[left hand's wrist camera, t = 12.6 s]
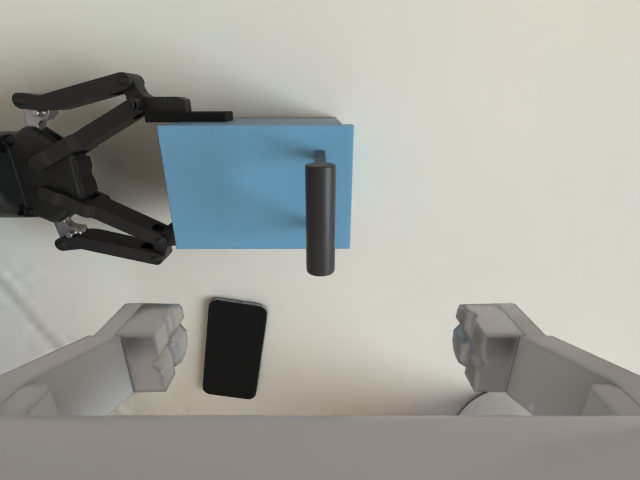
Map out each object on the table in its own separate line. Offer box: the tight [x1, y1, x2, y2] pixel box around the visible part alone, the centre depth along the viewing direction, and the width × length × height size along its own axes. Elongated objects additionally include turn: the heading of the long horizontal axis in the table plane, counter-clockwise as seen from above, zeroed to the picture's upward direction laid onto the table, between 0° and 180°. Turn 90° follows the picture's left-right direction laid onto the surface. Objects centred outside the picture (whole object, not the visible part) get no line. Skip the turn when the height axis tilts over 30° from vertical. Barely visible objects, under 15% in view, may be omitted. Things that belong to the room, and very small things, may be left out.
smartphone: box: [203, 298, 268, 399], centre depth 46 cm, size 7×1×15 cm
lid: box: [157, 124, 354, 276], centre depth 23 cm, size 14×9×9 cm
